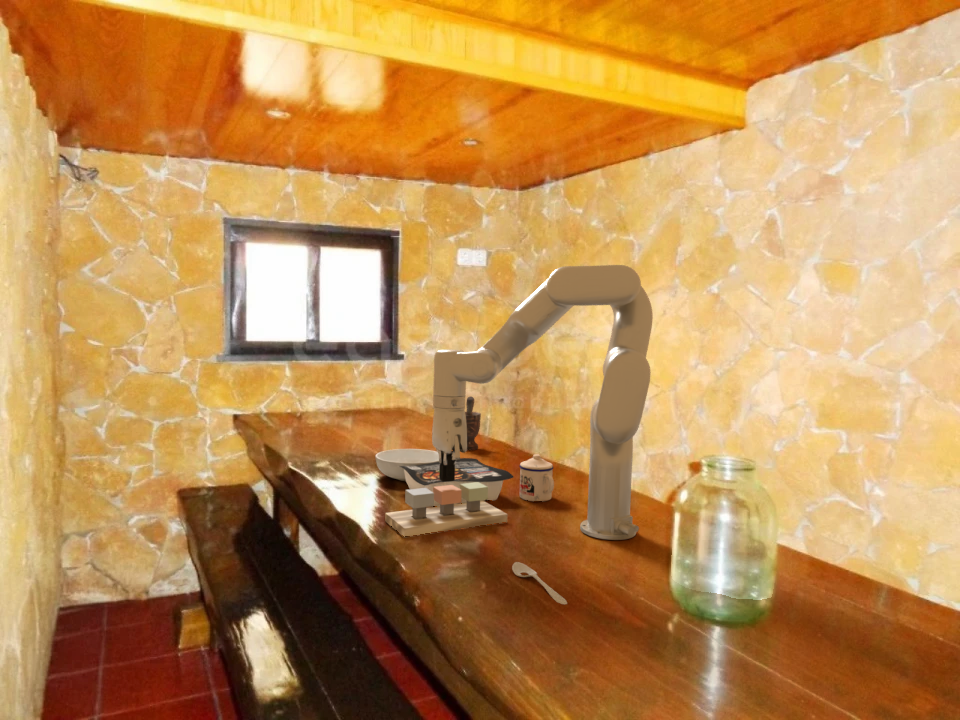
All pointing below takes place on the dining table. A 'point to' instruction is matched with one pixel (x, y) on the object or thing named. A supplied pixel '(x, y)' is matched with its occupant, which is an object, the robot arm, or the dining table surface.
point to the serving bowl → (403, 460)
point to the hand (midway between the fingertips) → (446, 480)
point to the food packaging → (457, 476)
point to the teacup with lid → (536, 479)
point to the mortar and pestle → (472, 424)
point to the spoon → (522, 567)
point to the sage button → (474, 494)
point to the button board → (444, 519)
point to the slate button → (419, 501)
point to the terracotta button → (447, 497)
